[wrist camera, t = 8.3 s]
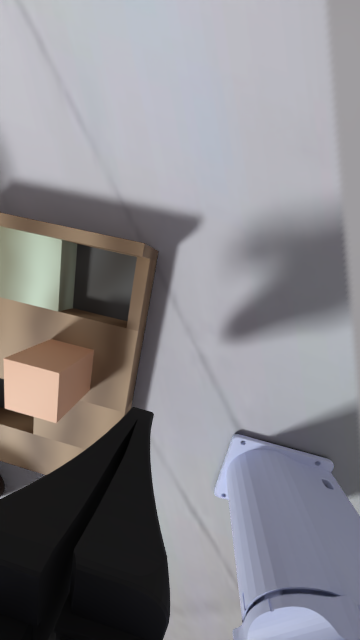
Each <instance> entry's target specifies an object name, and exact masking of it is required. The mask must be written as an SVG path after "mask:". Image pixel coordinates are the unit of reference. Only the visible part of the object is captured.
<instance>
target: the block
mask: <svg viewBox="0 0 360 640" xmlns="http://www.w3.org/2000/svg"><path fill="white" fill-rule="evenodd" d="M93 356H94V350H92V349H88V348H84V347H80V346H76V345H73V344H69V343H65V342H61V341H57V340H53V339H50V340H47V341H45V342H42V343H40V344H37V345H35V346H33V347H30V348H28V349H25V350H23V351H20V352H18V353H15V354H13V355H10V356H8V357H5V358H3V360H4V399H5V409H8V410H12V411H15V412H19V413H22V414H26V415H29V416H33V417H36V418H40V419H43V420H47V421H50V422H54V423H57V422H58V421H59V420H60V419H61V418H62V417H63V416H64V415H65V414H66V413H67V412H68V411H69V410H70V409H71V408H72V407H73V406H74V405H75V404H76V403H77V402H78V401H79V400H80V399H81V398H82V397H83V396H84V395H85V394H86V393H87V392H88V391H89V390H90V385H91V375H92V366H93Z"/></svg>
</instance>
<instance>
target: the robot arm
mask: <svg viewBox="0 0 360 640" xmlns="http://www.w3.org/2000/svg"><path fill="white" fill-rule="evenodd" d="M153 416H154V414H153V412H149V411H146V410H142V409H138V408H135V407H133V408H131V409H130V410H129V411H128V412H127V414H126V415H125V416H124V417H123V418H122V419H121V420H120V421H119V422H118V423H117V424H115V425H114V426H113V427H112V428H111V429H110V430H109V431H108V432H107V433H106V434H104V435H103V436H102V437H101V438H100V439H98V440H97V441H96V442H95V443H93V444H92V445H91V446H90V447H88V448H87V449H86V450H84V451H83V452H81V453H80V454H79V455H77V456H76V457H74V458H73V459H71V460H70V461H68V462H67V463H65V464H64V465H62V466H61V467H59V468H57V469H56V470H54V471H53V472H51V473H49V474H47V475H46V476H44V477H42V478H40V479H39V480H37V481H35V482H33V483H31V484H30V485H28V486H26V487H24V488H22V489H20V490H18V491H16V492H14V493H12V494H10V495H8V496H6V497H4V498H2V499H0V640H163V638H164V635H165V632H166V629H167V626H168V623H169V617H170V587H169V574H168V563H167V555H166V551H165V547H164V543H163V539H162V534H161V530H160V525H159V521H158V516H157V510H156V504H155V498H154V492H153V484H152V475H151V463H150V432H151V426H152V421H153ZM241 441H243V442H241ZM333 468H334V464H333V463H332V461H331V460H330V459H327V458H323V457H320V456H316V455H312V454H309V453H305V452H301V451H298V450H294V449H290V448H287V447H283V446H280V445H276V444H272V443H269V442H265V441H261V440H258V439H254V438H250V437H247V436H243V435H239V434H235V435H233V437H232V439H231V442H230V445H229V448H228V451H227V454H226V457H225V459H224V462H223V465H222V468H221V471H220V474H219V477H218V480H217V482H216V485H215V488H214V494H215V495H216V496H217V497H220V498H223V499H226V500H229V509H230V517H231V526H232V535H233V544H234V552H235V561H236V570H237V579H238V587H239V596H240V605H241V614H242V622H243V624H242V625H241V626H239V627H238V628H235V629H233V640H360V516H359V514H358V513H357V511H356V510H355V508H354V507H353V505H352V504H351V502H350V501H349V499H348V498H347V496H346V495H345V493H344V491H343V490H342V488H341V487H340V485H339V484H338V482H337V481H336V479H335V478H334V476H333V475H332V473H331V472H332V470H333Z"/></svg>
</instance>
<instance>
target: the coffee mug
mask: <svg viewBox="0 0 360 640" xmlns="http://www.w3.org/2000/svg"><path fill="white" fill-rule="evenodd" d="M4 489H5V486H4V482H3V479H2V477H1V476H0V497H1V495H2V494H3V492H4Z"/></svg>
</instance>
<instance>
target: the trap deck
mask: <svg viewBox="0 0 360 640" xmlns="http://www.w3.org/2000/svg"><path fill="white" fill-rule="evenodd" d="M157 257H158V251H157V250H155V249H153V248H152V247H150V246H148V245H147V244H145V243H141V242H136V241H131V240H127V239H122V238H117V237H112V236H108V235H103V234H98V233H94V232H89V231H84V230H80V229H75V228H70V227H65V226H61V225H56V224H51V223H47V222H42V221H37V220H33V219H28V218H23V217H18V216H14V215H9V214H4V213H0V461H2V462H6V463H9V464H12V465H15V466H18V467H22V468H25V469H28V470H31V471H35V472H38V473H41V474H44V475H47V474H49V473H51V472H53V471H54V470H56V469H57V468H59V467H61V466H62V465H64V464H65V463H67V462H68V461H70V460H71V459H73V458H74V457H76V456H77V455H79V454H80V453H81V452H83V451H84V450H86V449H87V448H88V447H90V446H91V445H92V444H93V443H95V442H96V441H97V440H98V439H100V438H101V437H102V436H103V435H104V434H106V433H107V432H108V431H109V430H110V429H111V428H112V427H113V426H114V425H115V424H117V423H118V422H119V421H120V420H121V419H122V418H123V417H124V416H125V415H126V414H127V412H128V411H129V410H130V409H131V406H132V400H133V394H134V389H135V383H136V377H137V371H138V366H139V360H140V354H141V349H142V343H143V337H144V331H145V326H146V320H147V314H148V308H149V303H150V297H151V291H152V286H153V280H154V274H155V268H156V263H157ZM50 339H53V340H57V341H61V342H65V343H69V344H73V345H76V346H80V347H84V348H88V349H92V350H94V356H93V366H92V375H91V385H90V390H89V391H88V392H87V393H86V394H85V395H84V396H83V397H82V398H81V399H80V400H79V401H78V402H77V403H76V404H75V405H74V406H73V407H72V408H71V409H70V410H69V411H68V412H67V413H66V414H65V415H64V416H63V417H62V418H61V419H60V420H59V421H58V422H57V423H54V422H50V421H47V420H43V419H40V418H36V417H33V416H29V415H26V414H22V413H19V412H15V411H12V410H8V409H5V399H4V360H3V358H5V357H8V356H10V355H13V354H15V353H18V352H20V351H23V350H25V349H28V348H30V347H33V346H35V345H37V344H40V343H42V342H45V341H47V340H50Z"/></svg>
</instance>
